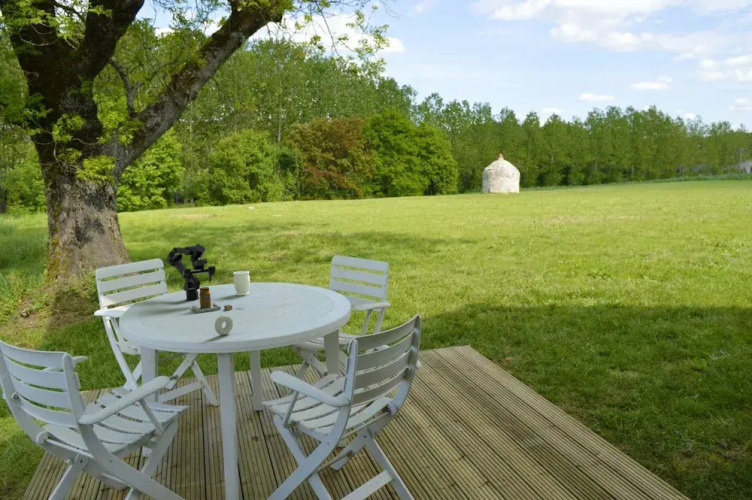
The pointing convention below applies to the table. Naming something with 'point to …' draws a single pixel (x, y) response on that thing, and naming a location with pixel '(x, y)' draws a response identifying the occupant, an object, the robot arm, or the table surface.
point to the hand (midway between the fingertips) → (202, 282)
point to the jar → (241, 282)
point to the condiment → (205, 298)
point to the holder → (214, 308)
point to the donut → (227, 328)
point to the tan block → (227, 307)
